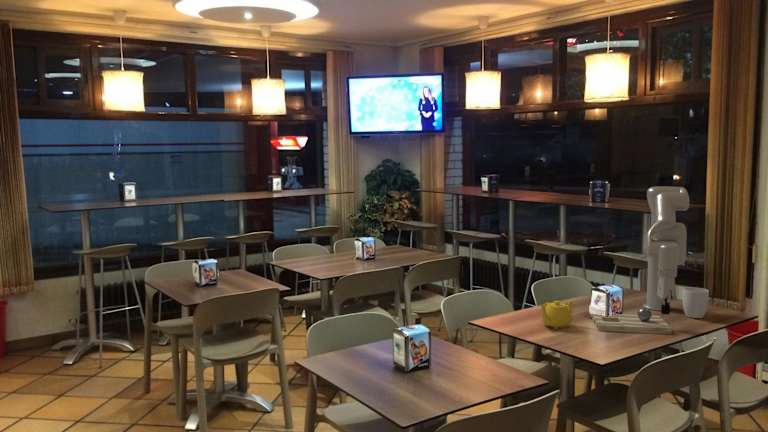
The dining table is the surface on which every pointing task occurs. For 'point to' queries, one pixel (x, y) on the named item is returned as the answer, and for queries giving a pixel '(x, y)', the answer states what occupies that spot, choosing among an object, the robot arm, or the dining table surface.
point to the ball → (644, 314)
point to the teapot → (557, 314)
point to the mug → (695, 301)
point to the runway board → (630, 324)
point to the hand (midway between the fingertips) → (665, 313)
